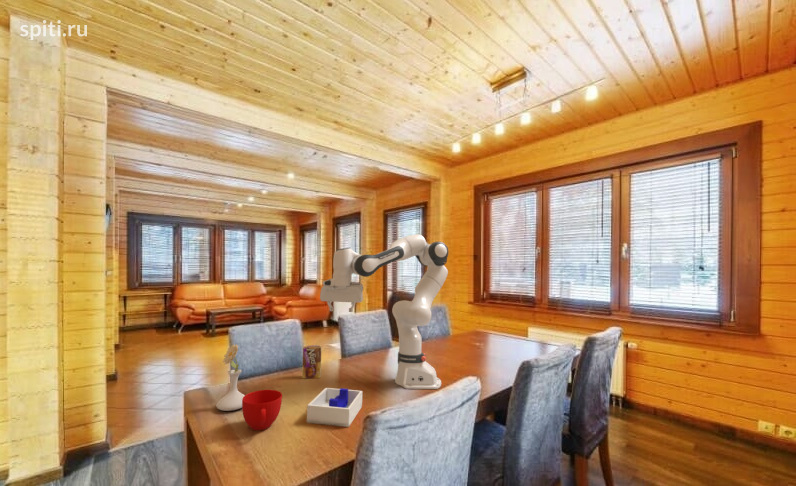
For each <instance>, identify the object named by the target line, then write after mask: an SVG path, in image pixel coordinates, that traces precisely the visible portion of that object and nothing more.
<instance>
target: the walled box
mask: <svg viewBox="0 0 796 486" xmlns="http://www.w3.org/2000/svg"><path fill="white" fill-rule="evenodd" d="M340 389H341V388H332V387H325V388H324V389H323V390H321V391H320V393H318V394H317V395H316V396H315V397H314V398H313V399H312V400H311V401H310V402H309V403H308V404H307V407H306V408H307V409H306V423H307V424H317V425H326V426H335V427H345V428H349V427H350V425H351V424H352V423H353V421H354V419H355V418H356V417H357V416H358V413H359V412H360V410H361V409H362V407H363V390H358V389H357V390H356V389H355V390H354V389H348V405H347V406H346V407H345V408H341V407H331V406H329V400H330V399H331V398H332V399H335V397H336V396H339V393H340Z"/></svg>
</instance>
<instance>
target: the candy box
mask: <svg viewBox="0 0 796 486" xmlns="http://www.w3.org/2000/svg"><path fill="white" fill-rule="evenodd" d="M322 350H323V349H322V345H321V344H319V345H318V344H315V345H303V347H302V370H301V372H302V375H301V377H302V378H301V379H320V378H321V375H322Z"/></svg>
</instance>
